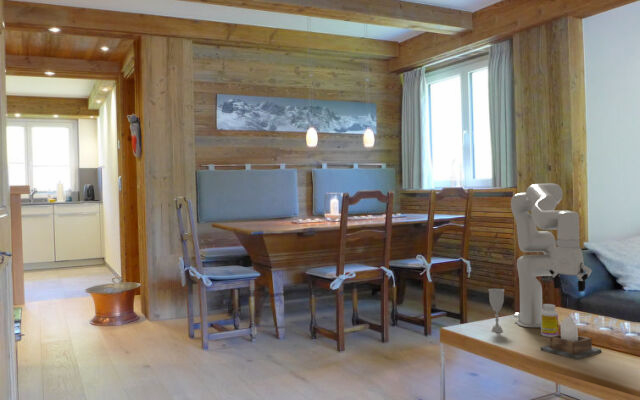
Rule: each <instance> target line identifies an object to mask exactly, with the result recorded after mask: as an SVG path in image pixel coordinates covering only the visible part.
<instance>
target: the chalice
mask: <svg viewBox="0 0 640 400" xmlns="http://www.w3.org/2000/svg"><path fill="white" fill-rule="evenodd" d="M487 291H488V292H489V293H488V298H489V304H490V306H491V308H492V310H493V311H495V314H494V316H495V319H494V321H495V324H494V325H493V326H492V328H491V330H490V331H491V332H492V333H503V332H504V329H503V328H502V326H501V325H499V321H500V319H499V312H500V311H501V309H502V308H503V304H504V302H505V301H504V300H505V297H504V295H505V294H504V293H505V289H504V288H489V289H487Z"/></svg>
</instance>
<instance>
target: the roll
mask: <svg viewBox="0 0 640 400" xmlns="http://www.w3.org/2000/svg"><path fill="white" fill-rule="evenodd" d="M574 320H575V319H574V318H573V317H572V316H571V315H570V316H566V317H565V318H564V320H562V322H561V323H560V334H561V339H564V340H568V341H573V342H575V341H578V336H579V330H578V326H577V324H576V323H575V321H574Z"/></svg>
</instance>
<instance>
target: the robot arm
mask: <svg viewBox="0 0 640 400" xmlns="http://www.w3.org/2000/svg"><path fill="white" fill-rule="evenodd" d="M563 196H564V195H563V189H562V187H561V186H560V185H559V184H557V183H535V184H530V185H529V186H528V187H527V189H526V190H525V192H520V193H516V194H514V195H513V196H512V198H511V199H510V208H511V212H512V215H513V217H514V221H515V224H516V234H517V244H518V248H519V249H520V251H521V252H524V253H543V254H527V255H526V254H525V255H521V256H520V257H519V258H517V261H516V269H517V272H518V273H517V274H518V281H519V282H518V284H519V286H518V287H519V312H514V314H513V318H516V319H517V321H516V325H518V326H520V327H525V328H532V329H533V328H534V329H535V328H536V329H538V328H540V329H541V311H542V310H543V286H542V283H541V282H540V281H539V280H538V279H537V277H552V278H553V285H554V286H553V287H554V288H555V289H559V288H561V287H562V283H561V282H562V281H561V280H562V279H561V275H565V276H566V275H567V276H576V278H577V279H578V281H577V291H578V292H580V293H581V292H584V291H586V281H587V279H588V278H590V277H591V276H590V275H591V273H592V271H593V270H592V268H590V267H588V266H587V265H585V263H584V262H585V261H584V254H583V251H582V248H581V247H580V216H579V213H578V212H577V211H571V210H567V209H566V210H563V209H562V210H555V209H556V207H557V205H558V204H560V202H561V201H562V200H563ZM530 212H531V213H530ZM537 228H538V229H540V231H539V230H538V229H537ZM549 230H550V231H549ZM551 230H556V232H557V233H556V234H557V235H556V236H557V240H556V238H555V235H554V233H552V232H551Z"/></svg>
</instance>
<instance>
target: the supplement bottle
mask: <svg viewBox="0 0 640 400" xmlns="http://www.w3.org/2000/svg"><path fill="white" fill-rule="evenodd" d="M540 334H541V336H543V337H547V338H548V337H549V338H550V337H552V336H556V335H559V313H558V312H557V311H556V305H555V304H552V303H542V311H541V327H540Z"/></svg>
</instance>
